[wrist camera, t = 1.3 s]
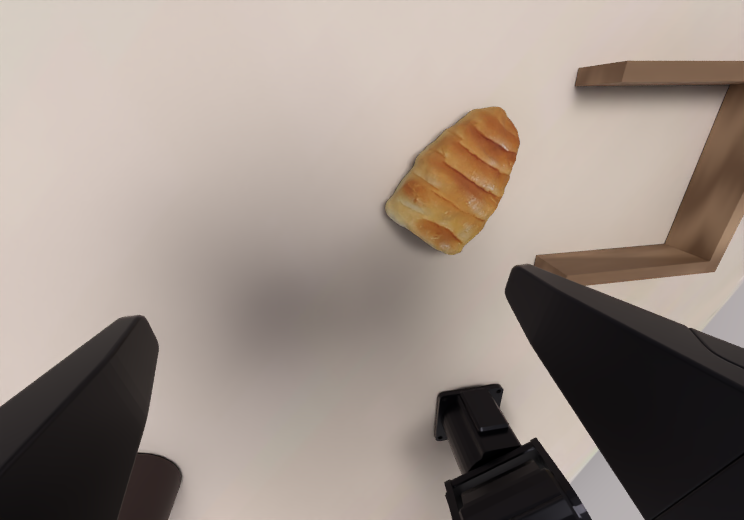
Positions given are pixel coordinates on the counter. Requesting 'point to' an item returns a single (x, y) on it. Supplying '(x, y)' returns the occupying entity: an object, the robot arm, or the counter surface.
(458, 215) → the pastry
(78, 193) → the counter surface
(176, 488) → the vinegar
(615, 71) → the box
